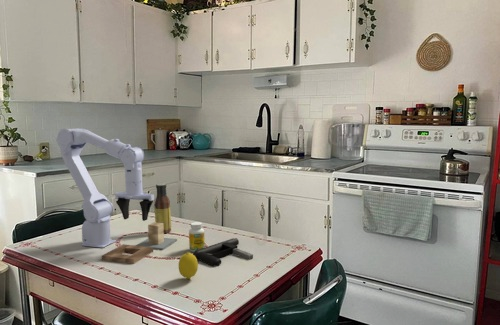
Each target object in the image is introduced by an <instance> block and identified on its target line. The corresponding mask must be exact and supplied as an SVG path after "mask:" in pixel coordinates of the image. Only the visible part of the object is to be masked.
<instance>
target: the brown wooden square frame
mask: <svg viewBox="0 0 500 325" xmlns="http://www.w3.org/2000/svg"><path fill="white" fill-rule="evenodd" d="M153 252H154V249H153V247H144V246H136V244H135V245H133V244H121V245H119V246H117V247H115V248H113V249H112V250H110V251H108V252H106V253H104V254H102V255H101V261H108V262H114V263H122V264H131V265H134V264H136V263H138V262H139V261H141V260H142V259H144V258H145V257H147V256H148V255H151V253H153ZM124 253H132V254H124Z"/></svg>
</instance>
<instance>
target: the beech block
mask: <svg viewBox="0 0 500 325" xmlns="http://www.w3.org/2000/svg"><path fill="white" fill-rule="evenodd" d="M147 228H148V230H147V231H148V233H147V234H148V238H149V244H157V245H159V244H160V243H162V242H164V238H165V235H164V234H165V233H164V227H163V223H158V222H155V221H154V222H151V223H149V224H148V226H147ZM148 238H147V239H148Z"/></svg>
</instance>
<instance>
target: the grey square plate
mask: <svg viewBox="0 0 500 325" xmlns="http://www.w3.org/2000/svg"><path fill="white" fill-rule="evenodd" d="M177 241H178V238H172V237H171V238H170V237H164V242H162V243H160V244H159V245H157V244H149V238H146V239H145V240H143V241H141V242H139V243H137V244H135V246H144V247H153V250H159V251H163V250H165V249H167V248H168V247H169V246H171V245H172V244H175V243H176V242H177Z"/></svg>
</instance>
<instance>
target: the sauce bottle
mask: <svg viewBox="0 0 500 325" xmlns="http://www.w3.org/2000/svg"><path fill="white" fill-rule="evenodd" d="M155 189H156V198H155V201H154V219H155V220H154V222H158V223H163V227H164V234H168V233H169V234H170V232H172V213H171V201H170V198H169V197H168V195H167V183H164V182H162V183H157V184H155Z"/></svg>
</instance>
